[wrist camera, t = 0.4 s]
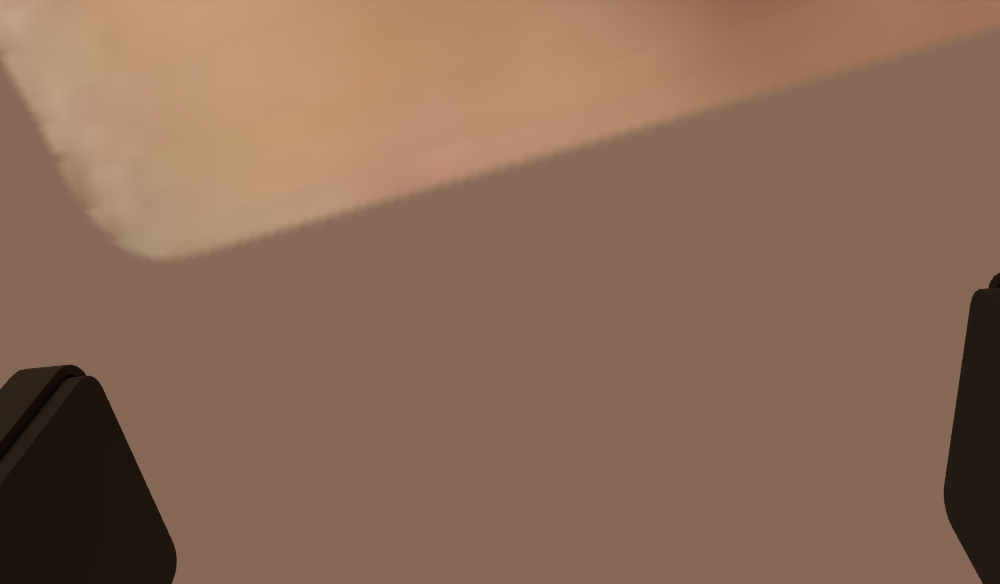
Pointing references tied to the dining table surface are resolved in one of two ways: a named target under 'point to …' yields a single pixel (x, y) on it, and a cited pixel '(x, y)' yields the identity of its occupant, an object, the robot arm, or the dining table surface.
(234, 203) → the dining table surface
